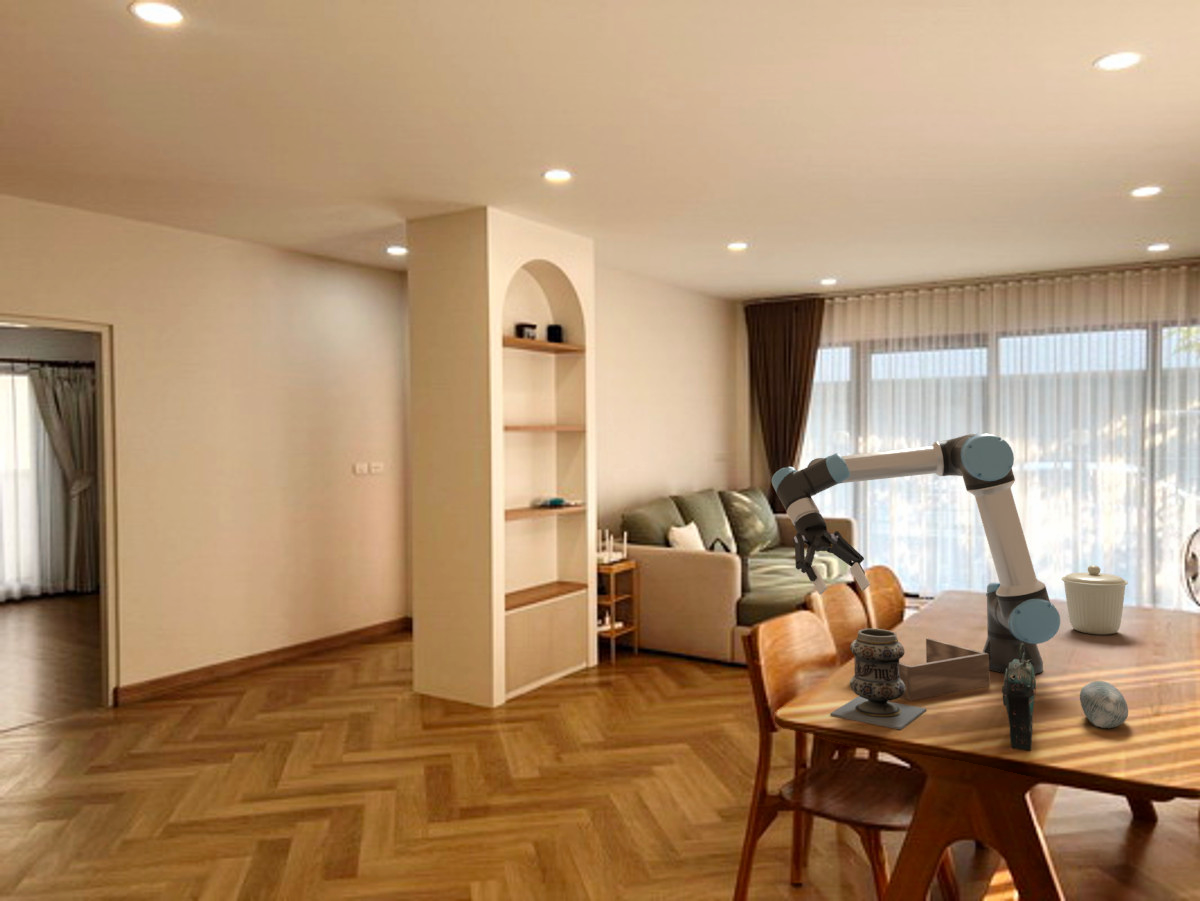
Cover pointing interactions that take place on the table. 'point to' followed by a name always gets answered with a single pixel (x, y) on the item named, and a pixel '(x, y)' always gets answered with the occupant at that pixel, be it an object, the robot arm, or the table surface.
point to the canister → (1094, 601)
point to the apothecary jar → (877, 672)
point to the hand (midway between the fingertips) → (845, 589)
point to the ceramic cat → (1020, 700)
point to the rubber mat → (894, 722)
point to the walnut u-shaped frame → (944, 671)
